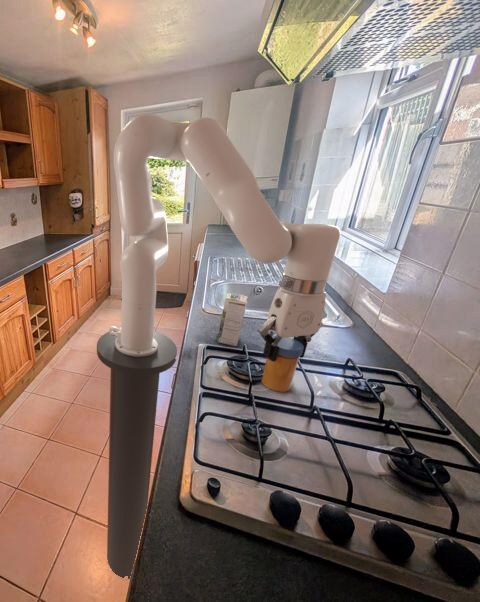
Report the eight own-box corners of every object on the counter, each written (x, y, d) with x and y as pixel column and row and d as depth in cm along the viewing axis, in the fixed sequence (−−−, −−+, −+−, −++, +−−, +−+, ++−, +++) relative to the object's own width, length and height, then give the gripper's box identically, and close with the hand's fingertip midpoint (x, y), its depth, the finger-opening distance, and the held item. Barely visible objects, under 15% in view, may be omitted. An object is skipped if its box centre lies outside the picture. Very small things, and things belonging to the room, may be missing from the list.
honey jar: (260, 386, 72) (270, 348, 68) (261, 373, 77) (270, 337, 73) (290, 394, 69) (302, 355, 65) (289, 380, 74) (300, 343, 70)
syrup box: (219, 334, 97) (226, 292, 91) (239, 338, 94) (248, 295, 88) (216, 342, 92) (224, 298, 87) (238, 347, 89) (247, 302, 84)
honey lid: (309, 356, 67) (311, 349, 66) (282, 359, 66) (284, 352, 65) (286, 341, 73) (288, 334, 72) (261, 344, 72) (262, 337, 72)
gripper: (280, 293, 59) (261, 370, 65) (354, 286, 62) (329, 360, 68) (253, 281, 66) (238, 352, 72) (321, 276, 68) (301, 344, 75)
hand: (282, 355), depth 70 cm, fingers closed on honey lid, 6 cm apart
